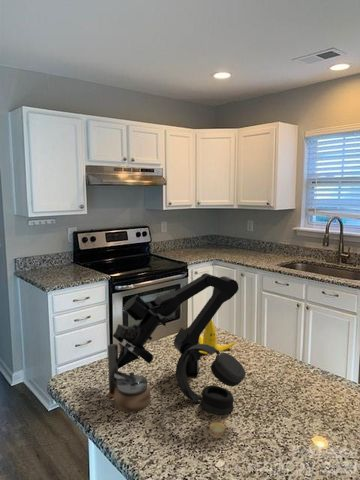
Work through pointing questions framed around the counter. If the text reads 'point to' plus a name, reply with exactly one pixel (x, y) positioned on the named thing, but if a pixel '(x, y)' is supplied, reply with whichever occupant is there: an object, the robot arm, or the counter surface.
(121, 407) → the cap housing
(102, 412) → the counter surface
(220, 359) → the headphones
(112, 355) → the lugged disk with column
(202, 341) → the banana peel
